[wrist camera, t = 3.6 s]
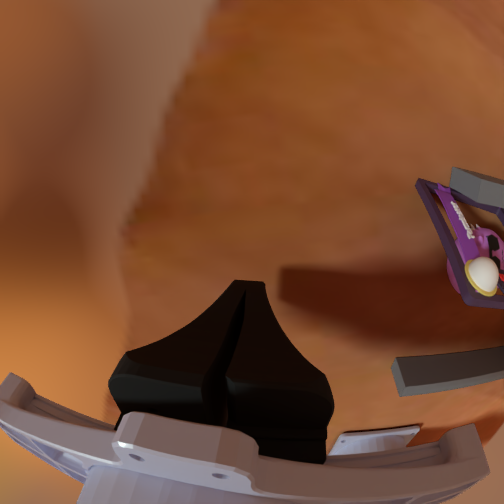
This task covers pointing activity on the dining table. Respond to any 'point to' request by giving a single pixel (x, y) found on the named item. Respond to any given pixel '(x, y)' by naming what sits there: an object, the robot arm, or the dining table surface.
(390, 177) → the dining table surface
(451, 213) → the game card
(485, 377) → the frame
